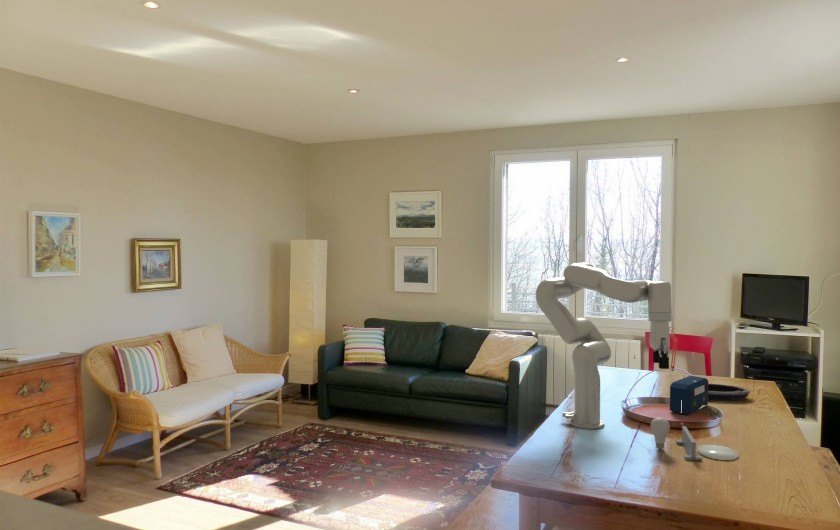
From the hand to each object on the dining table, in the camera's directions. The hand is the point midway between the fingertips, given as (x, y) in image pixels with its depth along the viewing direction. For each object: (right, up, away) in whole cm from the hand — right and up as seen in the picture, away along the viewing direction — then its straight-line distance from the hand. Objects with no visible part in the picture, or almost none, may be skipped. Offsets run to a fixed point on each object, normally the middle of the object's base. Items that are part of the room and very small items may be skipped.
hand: (660, 365), depth 206 cm
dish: (+46, -24, +57) cm, 77 cm away
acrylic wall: (+6, -28, -7) cm, 29 cm away
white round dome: (+15, -28, -9) cm, 33 cm away
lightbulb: (-2, -28, -5) cm, 28 cm away
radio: (+28, -25, +39) cm, 54 cm away
